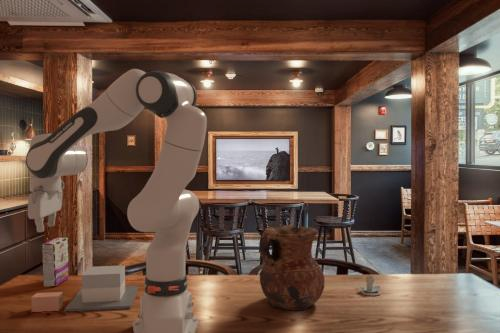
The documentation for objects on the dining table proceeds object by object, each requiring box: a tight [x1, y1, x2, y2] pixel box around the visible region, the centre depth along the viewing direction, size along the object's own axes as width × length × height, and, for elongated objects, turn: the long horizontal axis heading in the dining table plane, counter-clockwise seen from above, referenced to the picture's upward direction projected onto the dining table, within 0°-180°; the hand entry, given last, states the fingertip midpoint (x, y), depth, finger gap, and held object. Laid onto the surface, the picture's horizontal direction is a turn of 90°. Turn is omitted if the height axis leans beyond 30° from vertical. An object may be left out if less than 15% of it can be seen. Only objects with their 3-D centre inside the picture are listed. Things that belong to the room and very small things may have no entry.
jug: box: [258, 224, 326, 312], centre depth 134 cm, size 22×21×25 cm
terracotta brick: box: [31, 291, 64, 312], centre depth 129 cm, size 4×8×5 cm, turn 98°
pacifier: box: [358, 274, 381, 297], centre depth 144 cm, size 7×6×6 cm
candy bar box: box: [41, 237, 70, 286], centre depth 156 cm, size 11×5×16 cm, turn 179°
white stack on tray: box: [64, 264, 140, 312], centre depth 138 cm, size 20×20×10 cm
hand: (46, 228), depth 128 cm, fingers open, 8 cm apart
